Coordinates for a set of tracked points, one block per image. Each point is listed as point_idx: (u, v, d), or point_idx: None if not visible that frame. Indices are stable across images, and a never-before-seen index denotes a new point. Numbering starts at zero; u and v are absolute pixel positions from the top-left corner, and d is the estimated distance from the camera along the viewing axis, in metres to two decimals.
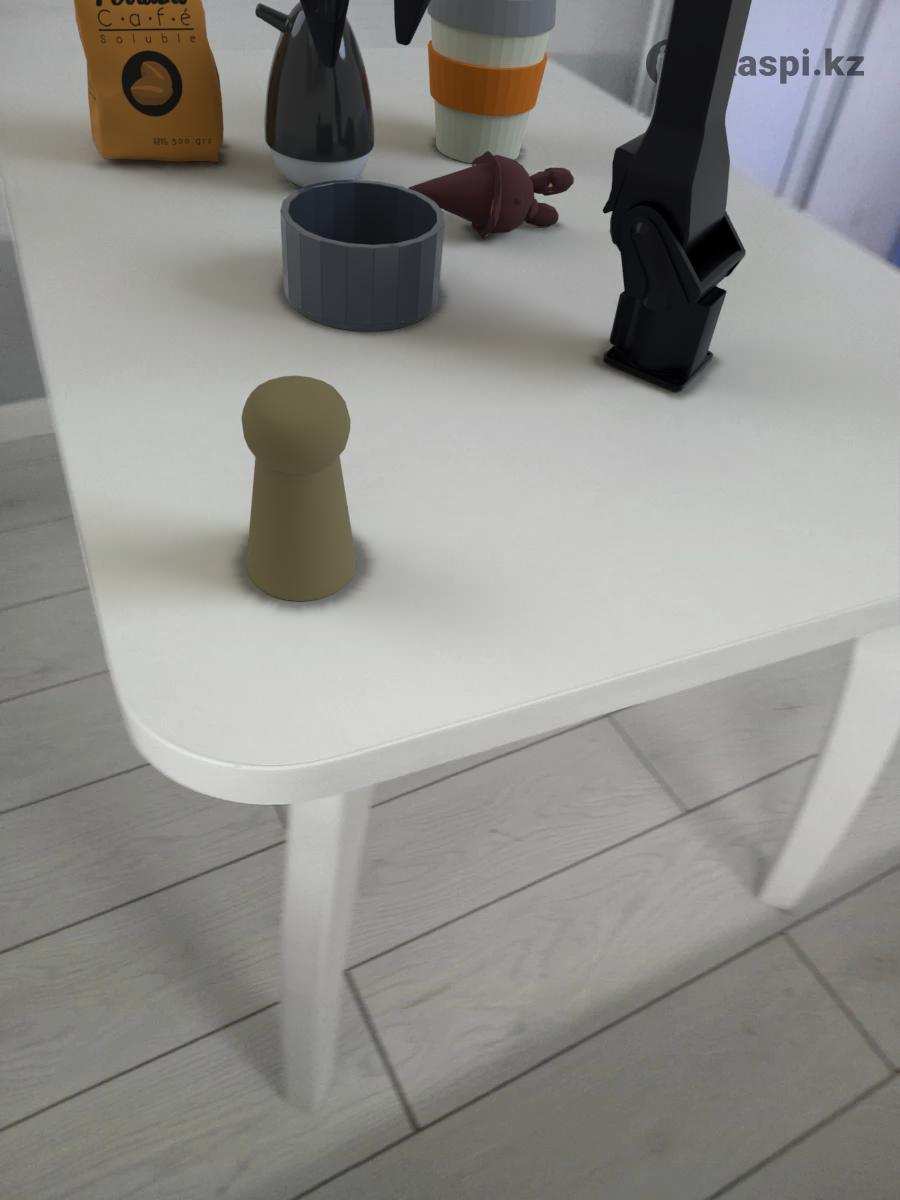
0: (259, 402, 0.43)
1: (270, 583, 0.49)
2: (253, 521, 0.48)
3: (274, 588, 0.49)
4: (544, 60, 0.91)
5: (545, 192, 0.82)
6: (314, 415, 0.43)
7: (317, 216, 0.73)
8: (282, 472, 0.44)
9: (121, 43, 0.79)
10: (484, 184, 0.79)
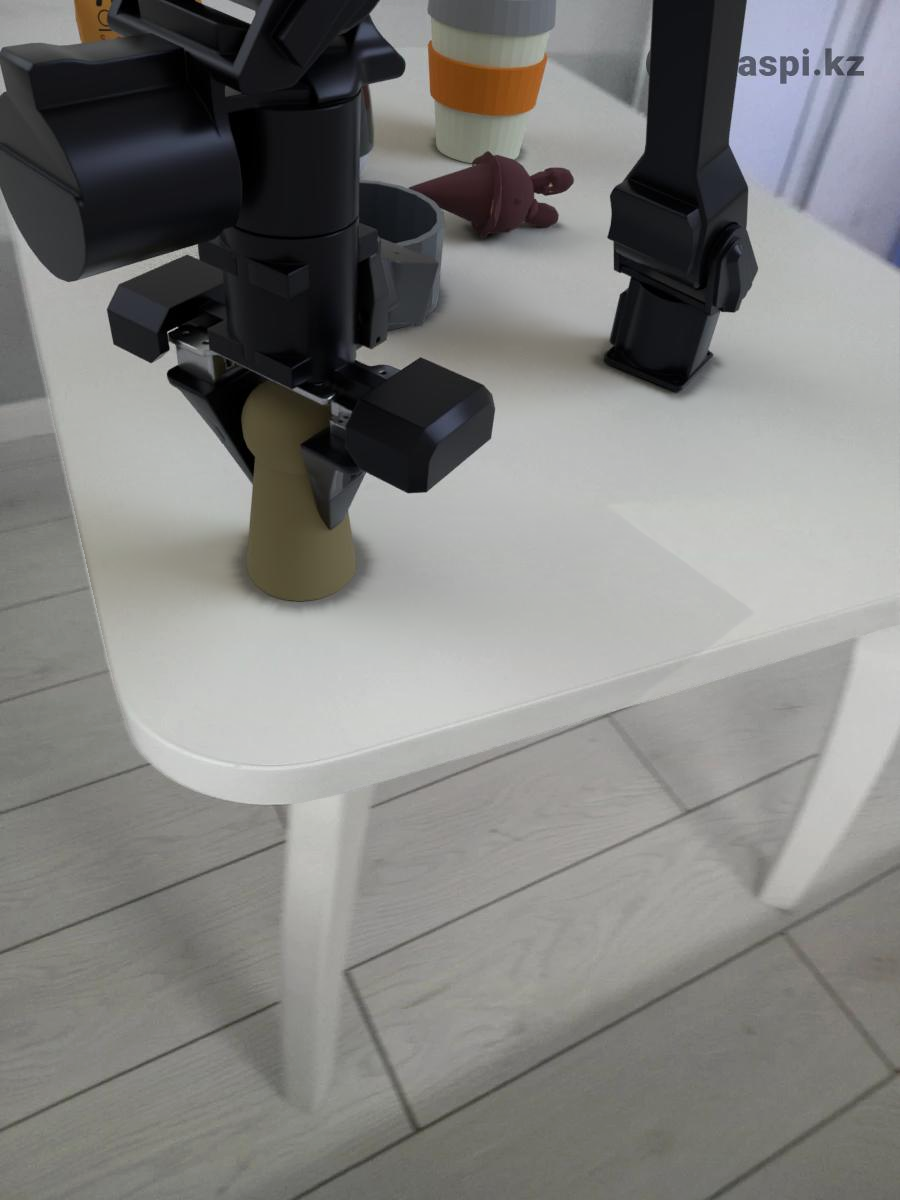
0: (258, 402, 0.43)
1: (270, 583, 0.49)
2: (253, 521, 0.48)
3: (274, 588, 0.49)
4: (544, 60, 0.91)
5: (545, 192, 0.82)
6: (313, 414, 0.43)
7: None
8: (282, 472, 0.44)
9: None
10: (484, 184, 0.79)
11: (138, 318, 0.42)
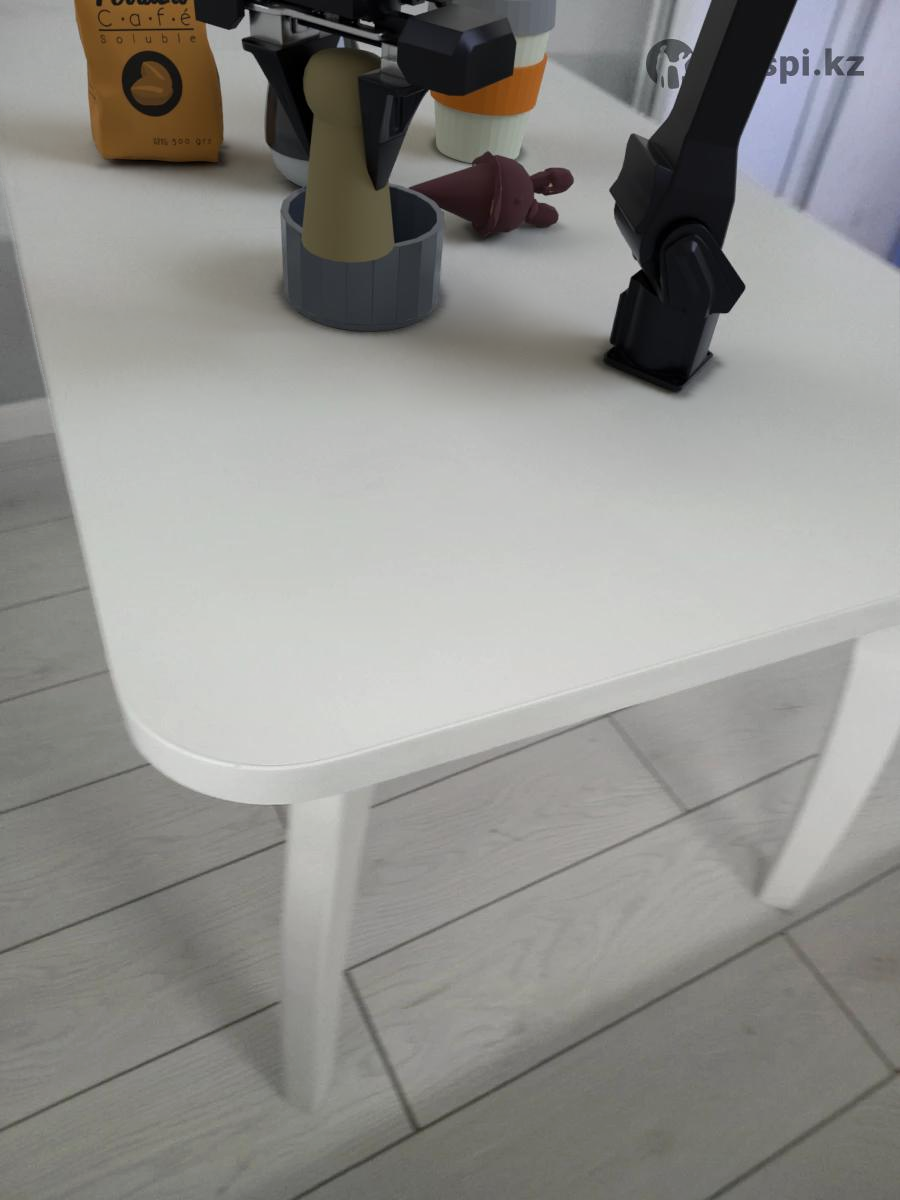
0: (319, 58, 0.52)
1: (324, 246, 0.58)
2: (310, 187, 0.56)
3: (327, 250, 0.58)
4: (544, 60, 0.91)
5: (545, 192, 0.82)
6: (365, 66, 0.51)
7: None
8: (337, 124, 0.53)
9: (121, 43, 0.79)
10: (484, 184, 0.79)
11: None
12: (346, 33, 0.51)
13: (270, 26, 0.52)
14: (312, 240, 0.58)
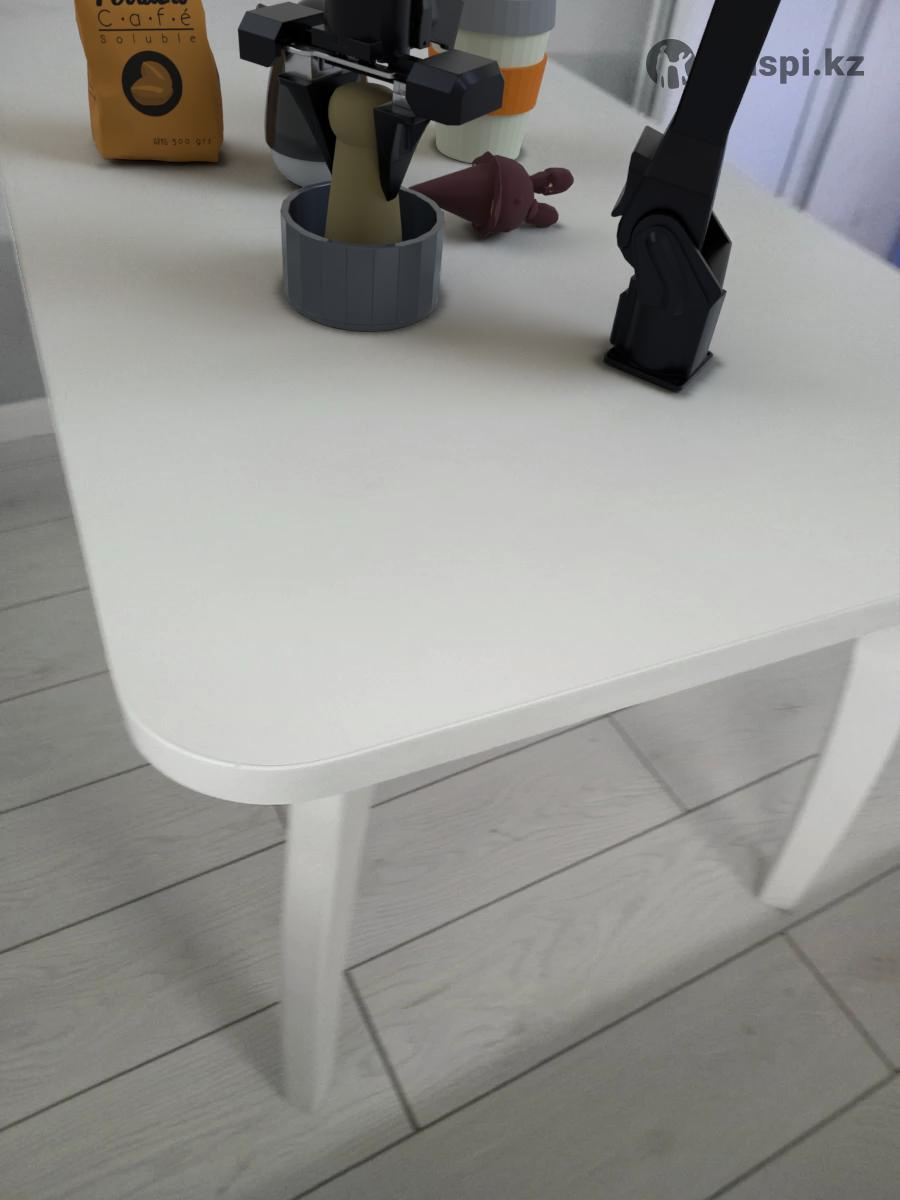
0: (341, 91, 0.62)
1: None
2: (332, 197, 0.67)
3: None
4: (544, 60, 0.91)
5: (545, 192, 0.82)
6: (380, 98, 0.62)
7: (317, 216, 0.73)
8: (356, 146, 0.64)
9: (121, 43, 0.79)
10: (484, 184, 0.79)
11: (260, 31, 0.62)
12: (364, 71, 0.62)
13: (302, 65, 0.62)
14: None
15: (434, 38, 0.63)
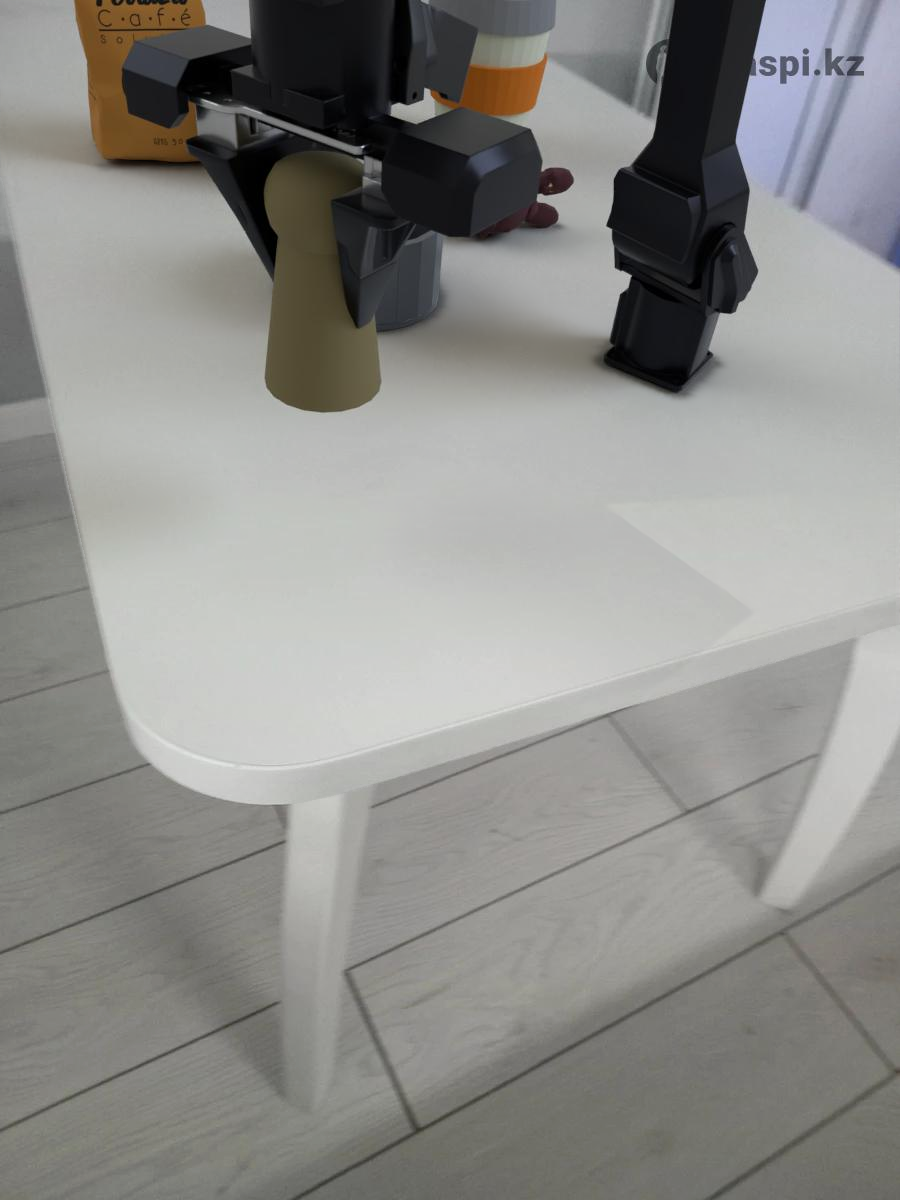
0: (283, 168, 0.40)
1: (290, 392, 0.46)
2: (273, 320, 0.44)
3: (294, 397, 0.46)
4: (544, 60, 0.91)
5: (545, 192, 0.82)
6: (343, 181, 0.39)
7: None
8: (307, 251, 0.41)
9: (121, 43, 0.79)
10: None
11: (155, 73, 0.39)
12: None
13: (221, 126, 0.40)
14: (276, 383, 0.46)
15: (430, 86, 0.40)
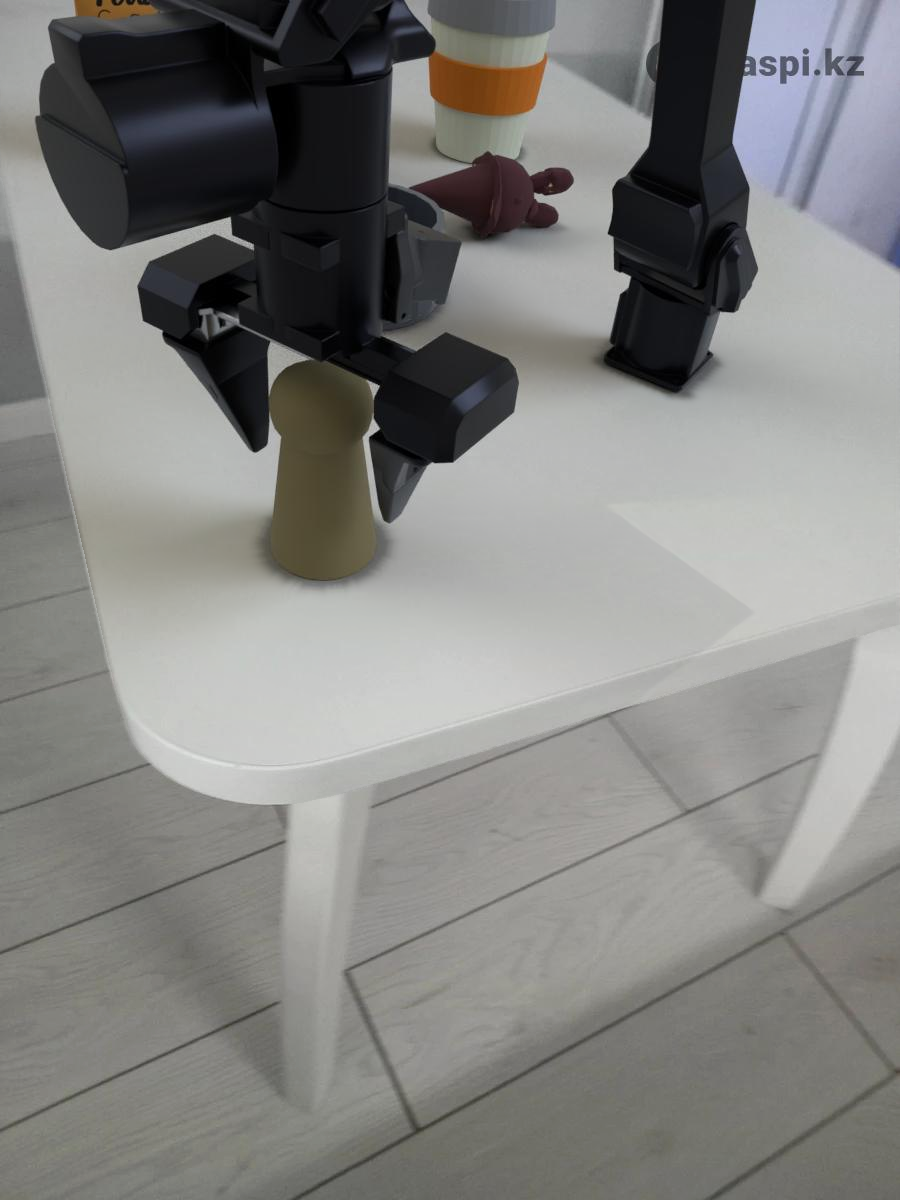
0: (286, 384, 0.44)
1: (294, 562, 0.50)
2: (278, 501, 0.49)
3: (298, 567, 0.50)
4: (544, 60, 0.91)
5: (545, 192, 0.82)
6: (340, 396, 0.44)
7: None
8: (308, 453, 0.45)
9: None
10: (484, 184, 0.79)
11: (168, 294, 0.43)
12: None
13: None
14: (281, 554, 0.50)
15: (418, 299, 0.44)
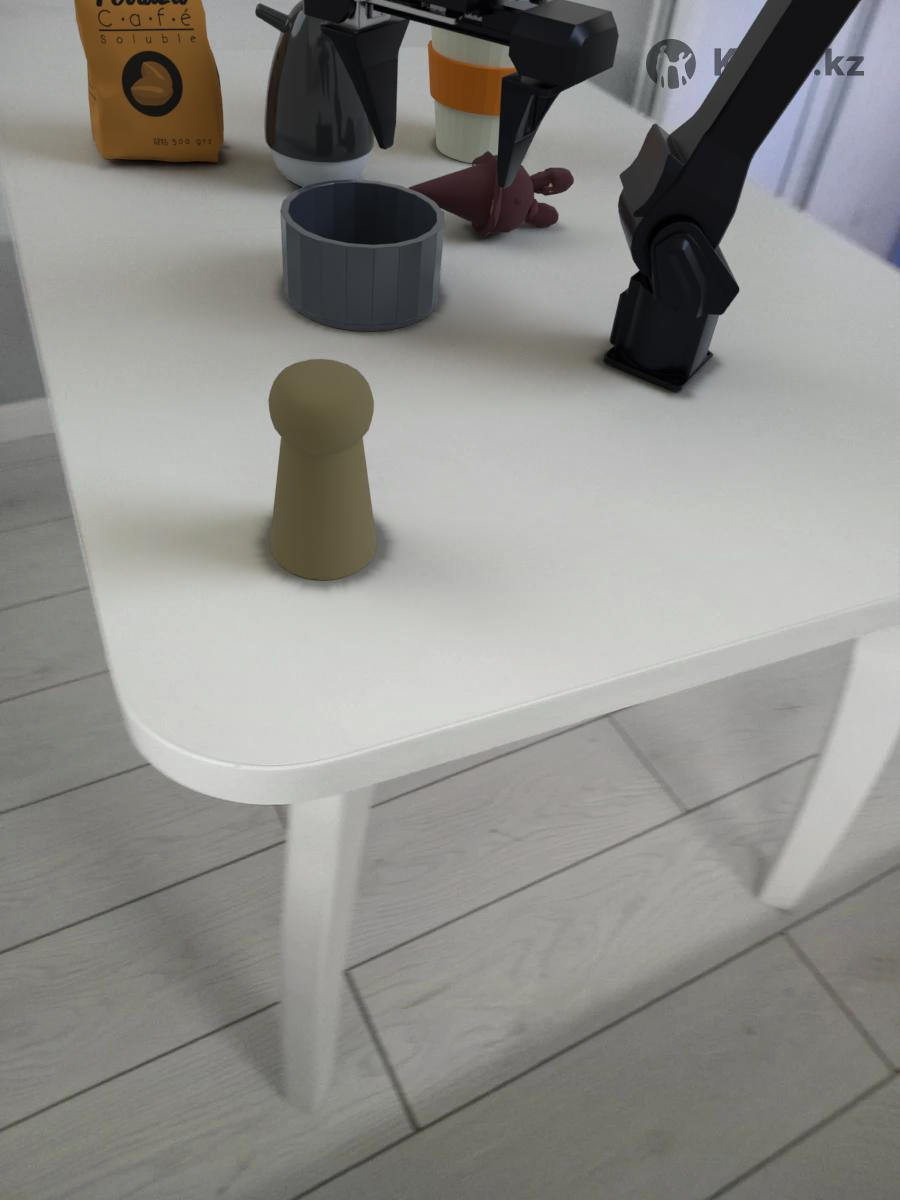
0: (286, 384, 0.44)
1: (294, 562, 0.50)
2: (278, 501, 0.49)
3: (298, 567, 0.50)
4: None
5: (545, 192, 0.82)
6: (340, 396, 0.44)
7: (317, 216, 0.73)
8: (308, 453, 0.45)
9: (121, 43, 0.79)
10: (484, 184, 0.79)
11: None
12: (452, 27, 0.54)
13: None
14: (281, 554, 0.50)
15: None
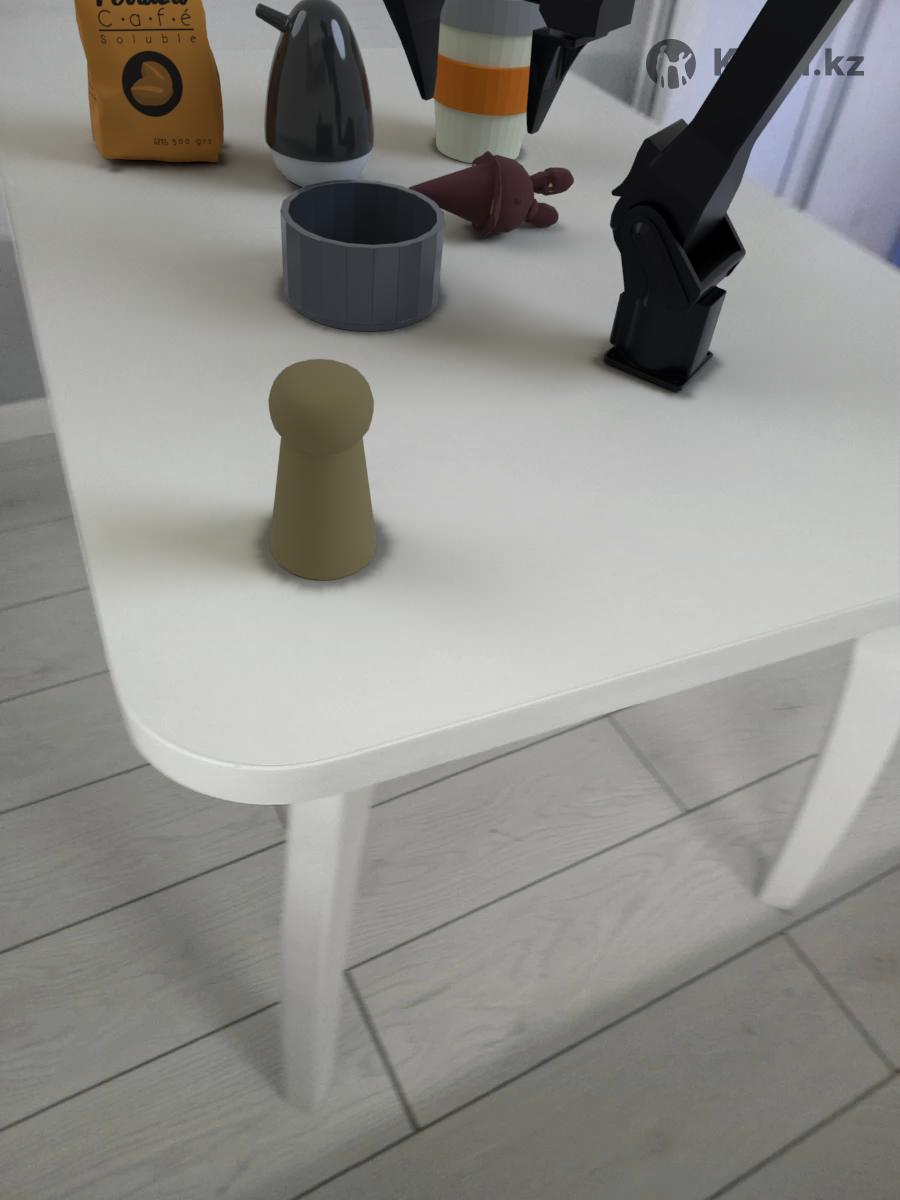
0: (286, 384, 0.44)
1: (294, 562, 0.50)
2: (278, 501, 0.49)
3: (298, 567, 0.50)
4: None
5: (545, 192, 0.82)
6: (340, 396, 0.44)
7: (317, 216, 0.73)
8: (308, 453, 0.45)
9: (122, 43, 0.79)
10: (484, 184, 0.79)
11: None
12: None
13: None
14: (281, 554, 0.50)
15: None
